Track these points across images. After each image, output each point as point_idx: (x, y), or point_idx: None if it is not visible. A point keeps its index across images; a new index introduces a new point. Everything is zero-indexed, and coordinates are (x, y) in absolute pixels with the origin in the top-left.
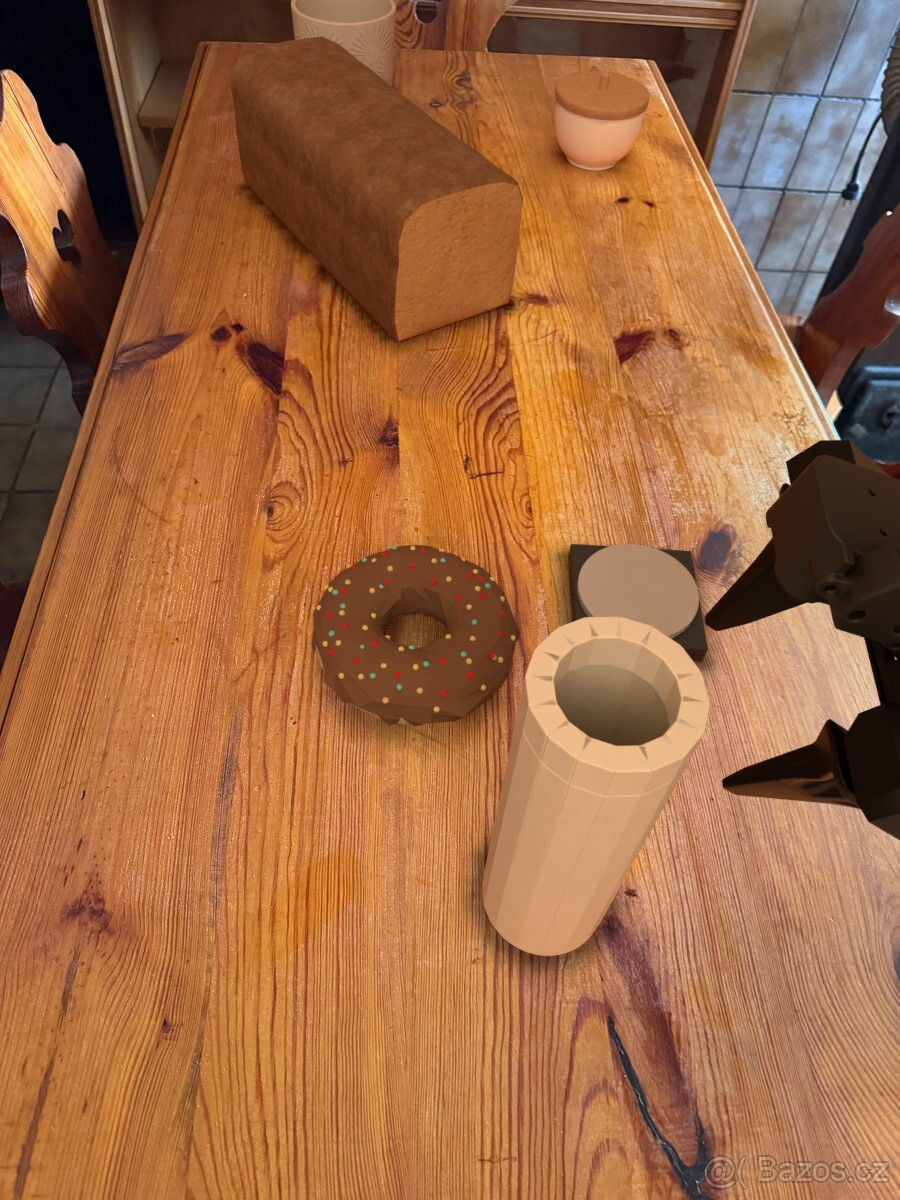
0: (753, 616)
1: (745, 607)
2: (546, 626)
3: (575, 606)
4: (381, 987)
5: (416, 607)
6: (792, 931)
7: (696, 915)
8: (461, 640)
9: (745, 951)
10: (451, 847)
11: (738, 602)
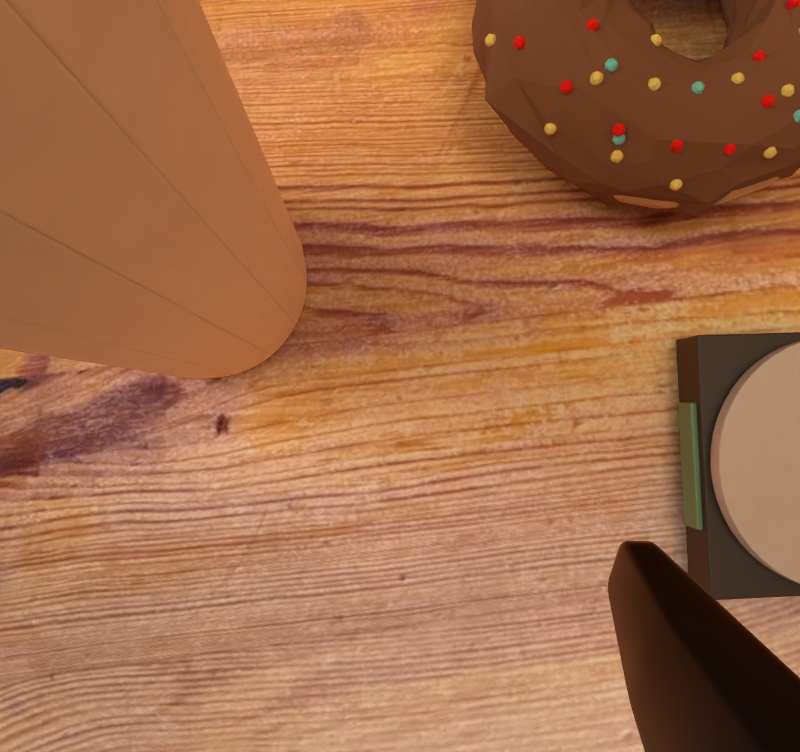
0: (653, 738)
1: (680, 712)
2: (735, 289)
3: (783, 334)
4: None
5: (735, 9)
6: (177, 688)
7: (192, 530)
8: (647, 61)
9: (139, 605)
10: (275, 132)
11: (693, 684)
